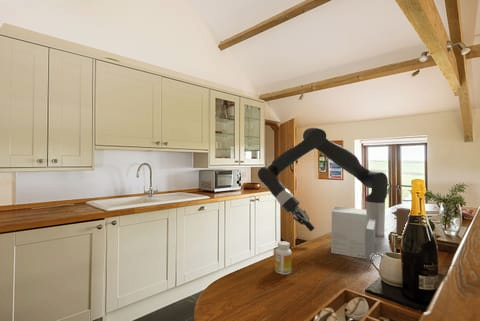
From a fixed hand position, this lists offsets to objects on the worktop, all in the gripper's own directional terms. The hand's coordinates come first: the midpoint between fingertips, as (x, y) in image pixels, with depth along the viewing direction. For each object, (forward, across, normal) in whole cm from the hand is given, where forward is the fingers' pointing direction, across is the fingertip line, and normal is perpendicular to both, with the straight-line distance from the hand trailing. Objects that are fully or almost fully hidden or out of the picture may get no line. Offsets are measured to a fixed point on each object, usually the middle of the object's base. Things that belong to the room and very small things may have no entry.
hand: (312, 229), depth 116 cm
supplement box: (+16, 0, -6) cm, 17 cm away
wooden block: (+32, +14, -22) cm, 41 cm away
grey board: (+21, +4, -12) cm, 25 cm away
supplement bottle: (+4, -35, +6) cm, 35 cm away
